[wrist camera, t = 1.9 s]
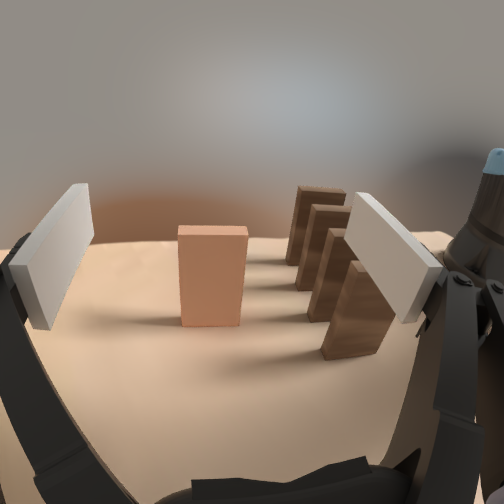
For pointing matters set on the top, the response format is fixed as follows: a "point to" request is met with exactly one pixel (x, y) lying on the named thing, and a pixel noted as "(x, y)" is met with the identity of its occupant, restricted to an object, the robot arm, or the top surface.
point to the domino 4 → (330, 276)
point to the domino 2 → (301, 216)
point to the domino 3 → (318, 240)
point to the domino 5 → (357, 317)
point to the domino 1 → (211, 274)
